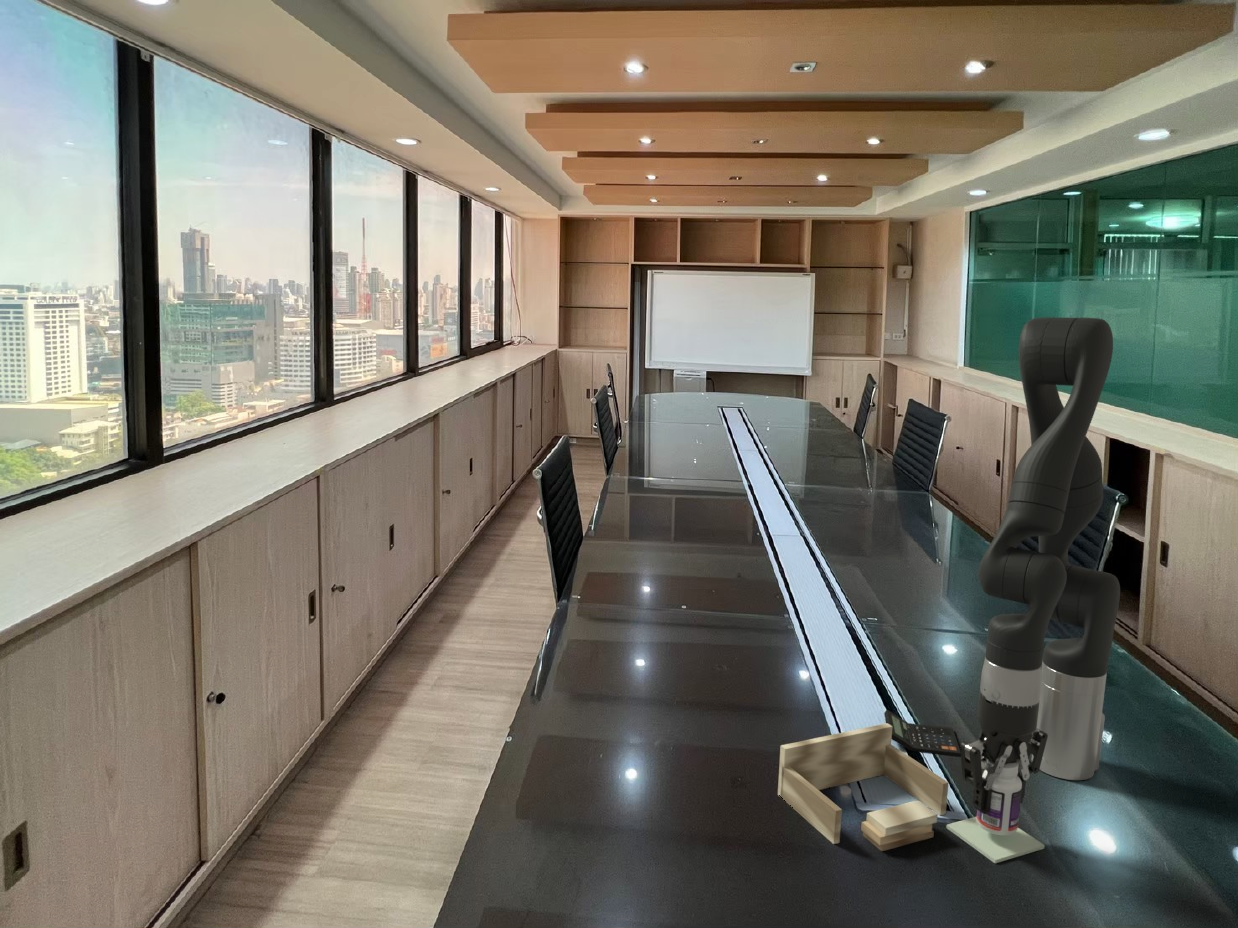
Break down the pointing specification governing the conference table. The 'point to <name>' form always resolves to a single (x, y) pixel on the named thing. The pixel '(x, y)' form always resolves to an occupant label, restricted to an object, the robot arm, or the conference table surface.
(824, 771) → the enclosure
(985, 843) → the sage mat
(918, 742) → the calculator
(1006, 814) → the pill bottle
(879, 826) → the offcut stack
